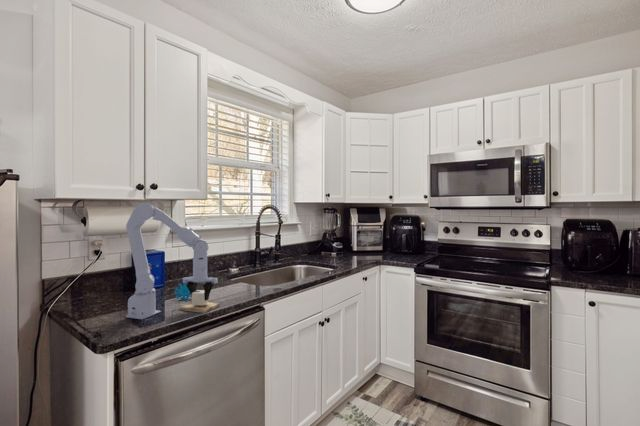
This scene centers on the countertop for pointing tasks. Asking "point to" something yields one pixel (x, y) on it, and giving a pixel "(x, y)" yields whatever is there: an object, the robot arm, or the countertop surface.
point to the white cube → (199, 298)
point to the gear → (183, 291)
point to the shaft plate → (200, 307)
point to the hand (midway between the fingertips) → (200, 299)
